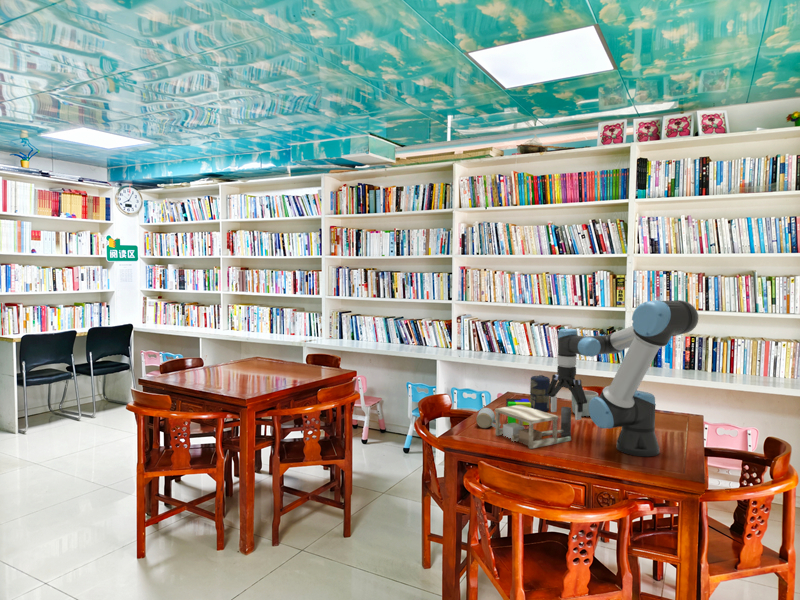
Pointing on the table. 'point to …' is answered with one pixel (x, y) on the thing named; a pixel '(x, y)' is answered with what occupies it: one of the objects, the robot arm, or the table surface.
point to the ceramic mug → (486, 418)
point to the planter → (589, 396)
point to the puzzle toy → (513, 403)
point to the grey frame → (564, 431)
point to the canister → (539, 393)
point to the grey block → (511, 429)
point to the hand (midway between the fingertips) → (565, 415)
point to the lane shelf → (530, 424)
